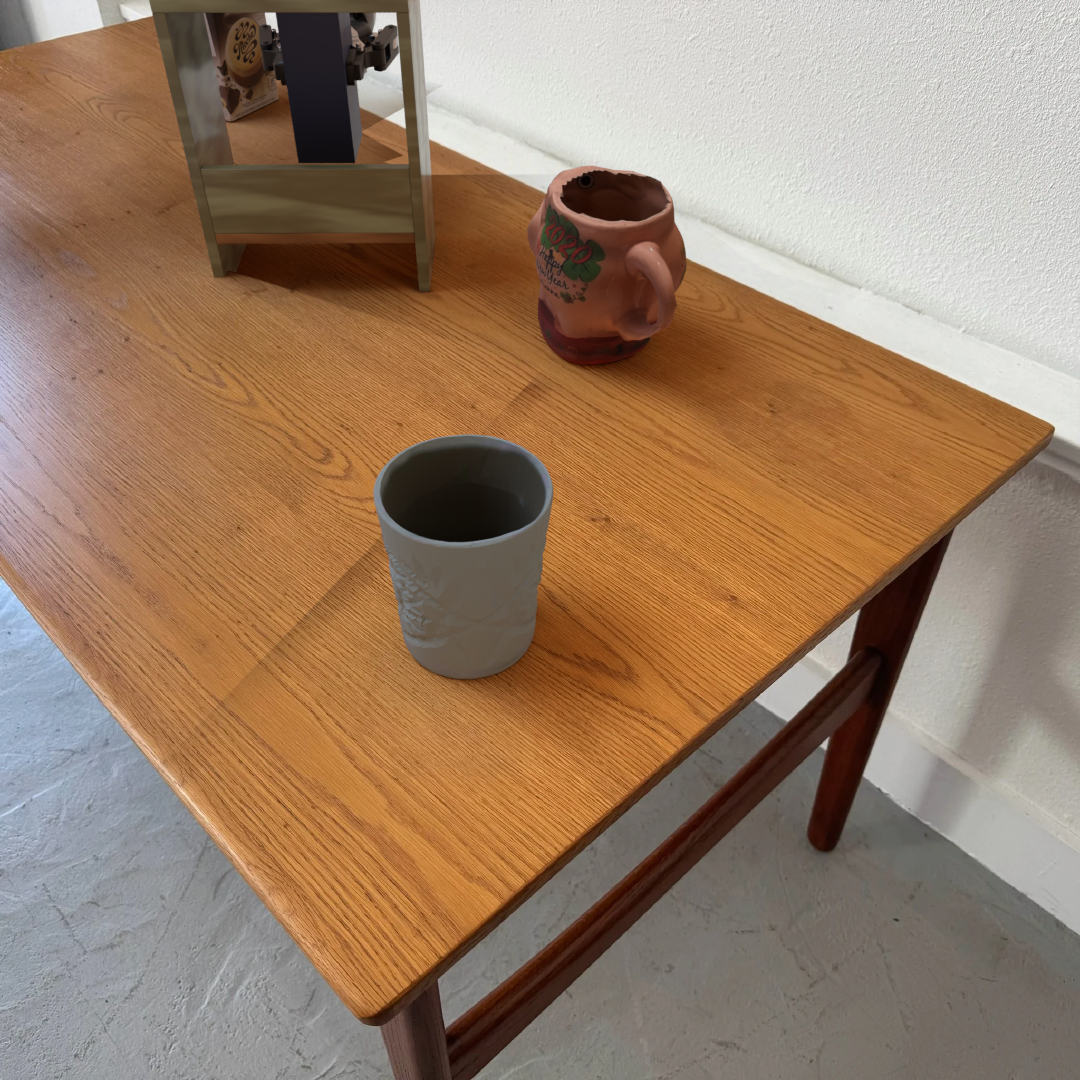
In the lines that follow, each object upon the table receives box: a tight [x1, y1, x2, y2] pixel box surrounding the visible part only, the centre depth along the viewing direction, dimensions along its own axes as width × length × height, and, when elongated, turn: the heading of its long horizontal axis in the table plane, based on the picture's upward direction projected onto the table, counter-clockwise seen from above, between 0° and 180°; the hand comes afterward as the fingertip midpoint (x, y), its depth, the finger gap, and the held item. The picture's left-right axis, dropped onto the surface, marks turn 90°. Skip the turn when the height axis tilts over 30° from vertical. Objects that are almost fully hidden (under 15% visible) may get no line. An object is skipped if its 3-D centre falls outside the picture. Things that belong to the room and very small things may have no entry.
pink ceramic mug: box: [526, 165, 687, 365], centre depth 86 cm, size 20×12×14 cm, turn 30°
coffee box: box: [204, 13, 280, 122], centre depth 125 cm, size 9×6×16 cm
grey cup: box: [373, 433, 554, 680], centre depth 63 cm, size 10×10×12 cm
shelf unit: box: [148, 0, 437, 293], centre depth 92 cm, size 11×20×26 cm, turn 91°
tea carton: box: [275, 13, 363, 164], centre depth 98 cm, size 6×7×14 cm
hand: (316, 74), depth 95 cm, fingers closed on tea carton, 5 cm apart
